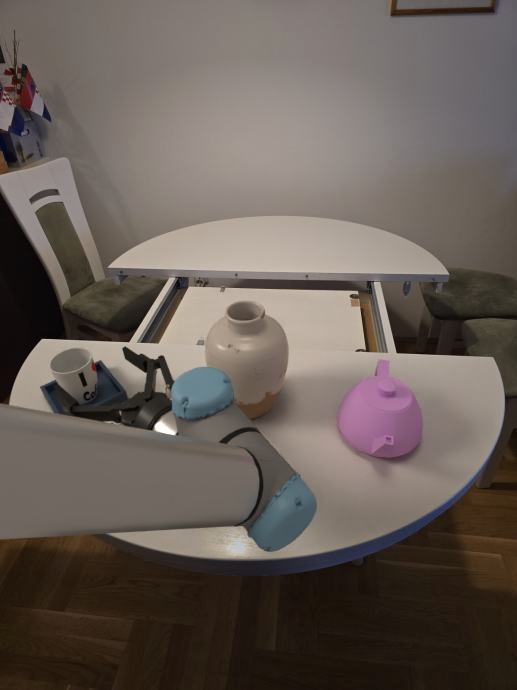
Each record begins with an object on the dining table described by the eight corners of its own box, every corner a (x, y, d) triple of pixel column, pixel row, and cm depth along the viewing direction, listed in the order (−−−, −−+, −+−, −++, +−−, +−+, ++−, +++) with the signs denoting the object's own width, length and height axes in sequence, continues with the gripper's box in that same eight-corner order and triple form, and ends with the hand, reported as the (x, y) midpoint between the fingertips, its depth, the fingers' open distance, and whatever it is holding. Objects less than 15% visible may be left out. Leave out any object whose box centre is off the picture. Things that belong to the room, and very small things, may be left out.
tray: (64, 432, 79) (60, 423, 78) (43, 395, 88) (39, 386, 86) (129, 400, 86) (126, 391, 84) (103, 368, 94) (100, 359, 93)
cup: (91, 412, 83) (76, 376, 76) (57, 406, 84) (39, 370, 78) (111, 385, 89) (99, 350, 83) (79, 380, 90) (65, 345, 84)
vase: (282, 435, 77) (285, 341, 63) (203, 426, 80) (188, 333, 66) (290, 379, 90) (293, 290, 76) (221, 373, 92) (212, 285, 78)
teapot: (338, 386, 88) (344, 342, 80) (412, 394, 85) (426, 350, 78) (333, 472, 71) (340, 426, 63) (426, 486, 68) (445, 440, 61)
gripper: (103, 498, 57) (33, 424, 68) (225, 400, 72) (152, 353, 83) (89, 466, 53) (17, 393, 64) (223, 369, 68) (145, 323, 79)
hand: (93, 370), depth 74 cm, fingers open, 13 cm apart
